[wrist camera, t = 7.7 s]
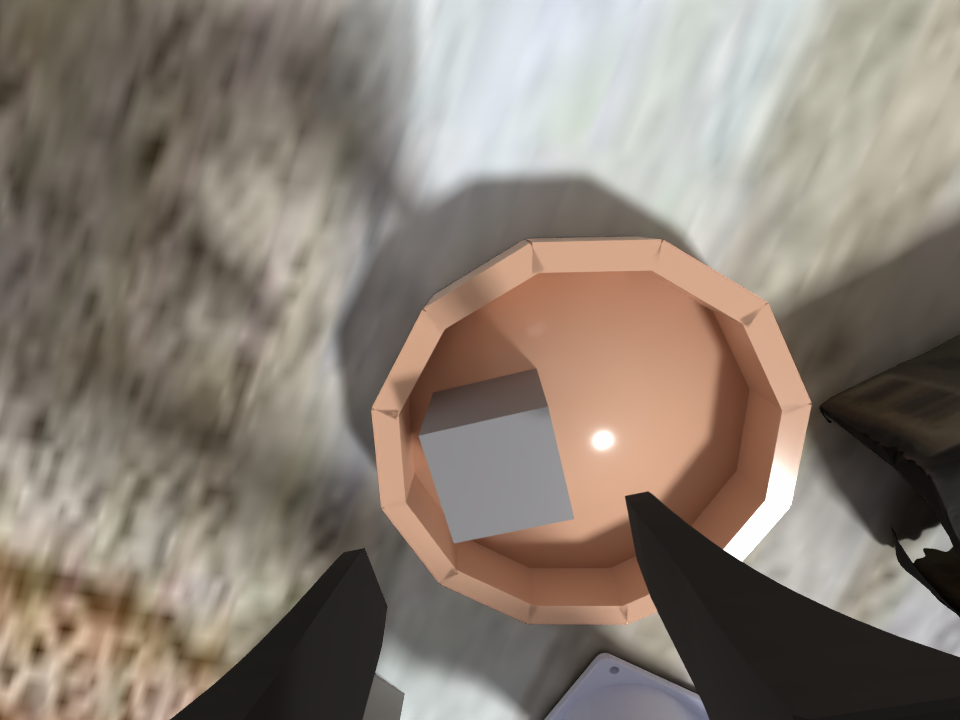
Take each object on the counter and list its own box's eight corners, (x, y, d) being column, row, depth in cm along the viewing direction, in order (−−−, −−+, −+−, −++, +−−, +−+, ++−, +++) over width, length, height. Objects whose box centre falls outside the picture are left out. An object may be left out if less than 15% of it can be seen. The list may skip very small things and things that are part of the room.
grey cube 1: (536, 368, 19) (548, 406, 15) (558, 461, 20) (574, 519, 16) (433, 392, 19) (418, 435, 15) (460, 482, 20) (453, 543, 16)
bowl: (838, 357, 19) (900, 381, 16) (622, 619, 23) (640, 676, 20) (504, 158, 17) (506, 145, 14) (335, 484, 21) (311, 525, 18)
